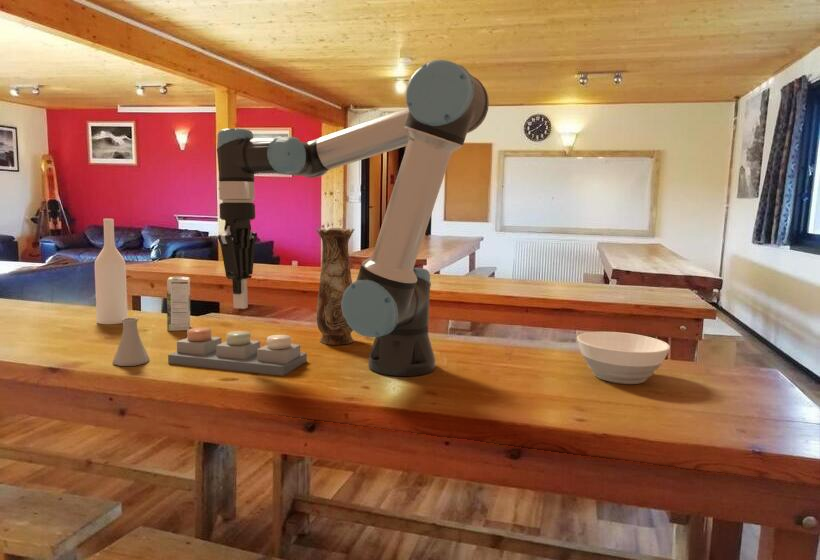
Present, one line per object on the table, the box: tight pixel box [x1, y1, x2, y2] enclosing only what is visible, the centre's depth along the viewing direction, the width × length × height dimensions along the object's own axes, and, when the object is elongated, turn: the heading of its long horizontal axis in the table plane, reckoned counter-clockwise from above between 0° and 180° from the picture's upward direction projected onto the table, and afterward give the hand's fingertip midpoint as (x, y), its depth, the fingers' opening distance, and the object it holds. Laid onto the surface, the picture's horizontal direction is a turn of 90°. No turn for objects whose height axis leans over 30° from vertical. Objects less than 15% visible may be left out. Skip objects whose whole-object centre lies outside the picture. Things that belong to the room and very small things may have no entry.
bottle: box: [94, 218, 129, 325], centre depth 171 cm, size 8×8×30 cm
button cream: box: [266, 334, 292, 350], centre depth 132 cm, size 5×5×4 cm
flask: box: [112, 317, 151, 367], centre depth 131 cm, size 7×7×10 cm
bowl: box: [576, 331, 671, 385], centre depth 131 cm, size 20×19×8 cm
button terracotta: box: [186, 327, 212, 342], centre depth 136 cm, size 5×5×4 cm
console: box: [167, 336, 308, 377], centre depth 134 cm, size 28×12×4 cm, turn 76°
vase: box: [315, 227, 355, 346], centre depth 155 cm, size 10×11×30 cm
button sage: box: [225, 330, 251, 346], centre depth 134 cm, size 5×5×4 cm
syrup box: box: [166, 276, 191, 332], centre depth 165 cm, size 6×6×14 cm
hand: (240, 307), depth 133 cm, fingers closed
